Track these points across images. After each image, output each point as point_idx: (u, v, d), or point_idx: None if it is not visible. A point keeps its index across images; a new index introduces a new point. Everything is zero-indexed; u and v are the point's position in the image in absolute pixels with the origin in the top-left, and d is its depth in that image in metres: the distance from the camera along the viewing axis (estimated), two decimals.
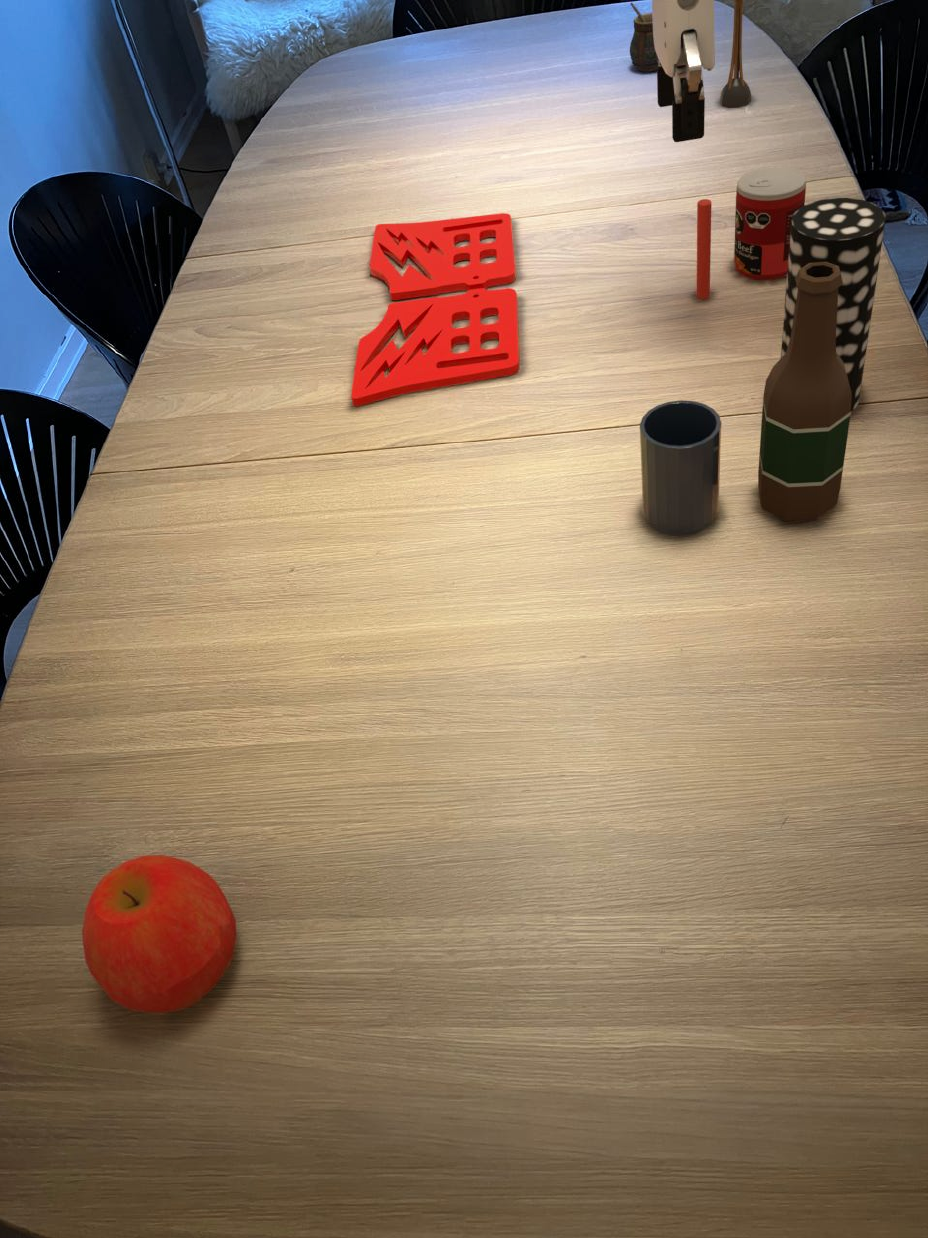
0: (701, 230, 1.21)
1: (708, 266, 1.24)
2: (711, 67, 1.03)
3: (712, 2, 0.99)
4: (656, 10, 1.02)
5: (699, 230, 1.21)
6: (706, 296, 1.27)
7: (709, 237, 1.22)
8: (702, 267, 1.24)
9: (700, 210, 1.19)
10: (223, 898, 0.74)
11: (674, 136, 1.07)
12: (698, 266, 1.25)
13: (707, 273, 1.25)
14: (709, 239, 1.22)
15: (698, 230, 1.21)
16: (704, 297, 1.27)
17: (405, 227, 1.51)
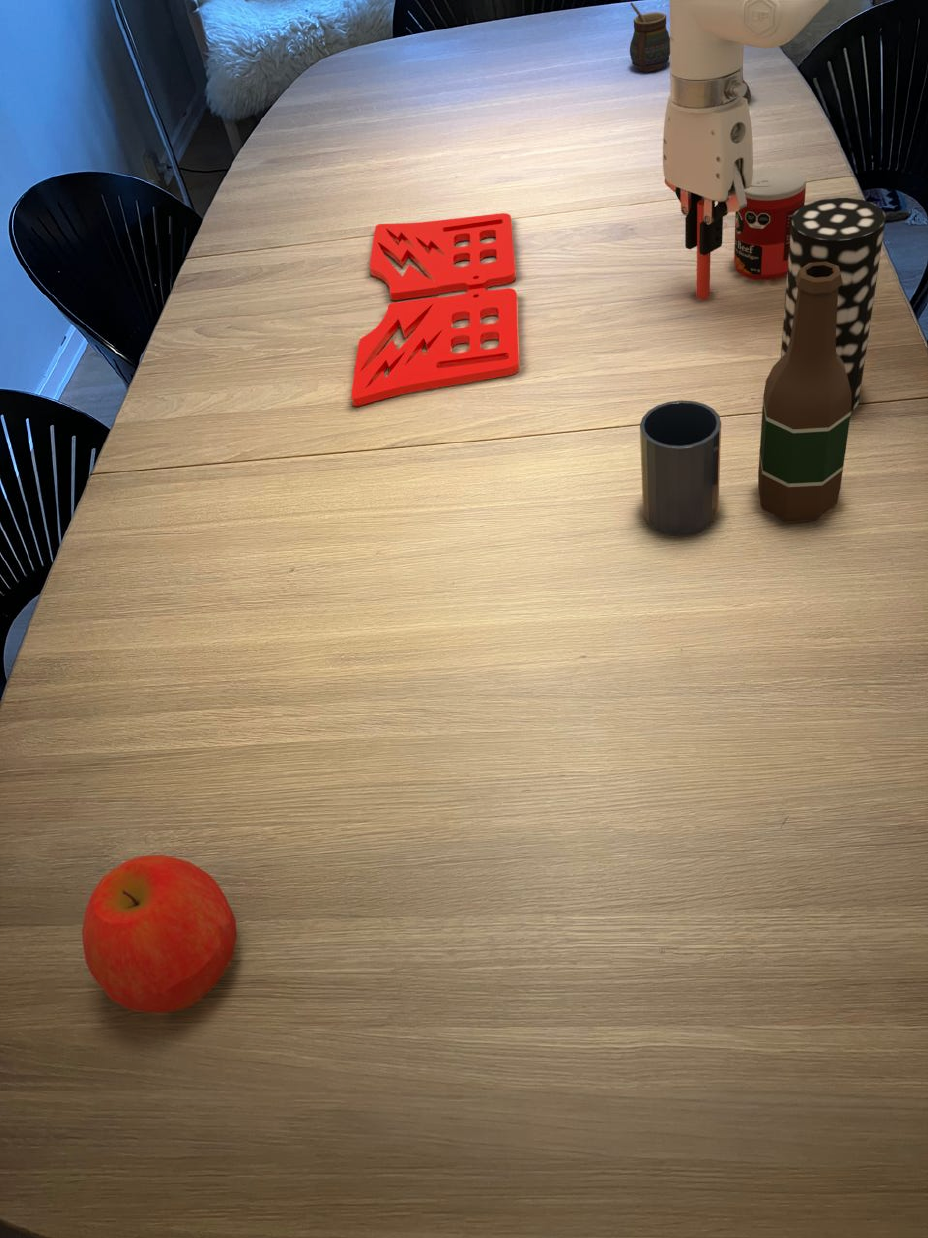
0: None
1: (708, 266, 1.24)
2: (750, 185, 1.15)
3: (751, 132, 1.11)
4: (695, 149, 1.13)
5: (699, 230, 1.21)
6: (706, 296, 1.27)
7: None
8: (702, 267, 1.24)
9: (700, 210, 1.19)
10: (223, 898, 0.74)
11: (703, 251, 1.21)
12: (698, 266, 1.25)
13: (707, 273, 1.25)
14: None
15: (698, 230, 1.21)
16: (704, 297, 1.27)
17: (405, 227, 1.51)
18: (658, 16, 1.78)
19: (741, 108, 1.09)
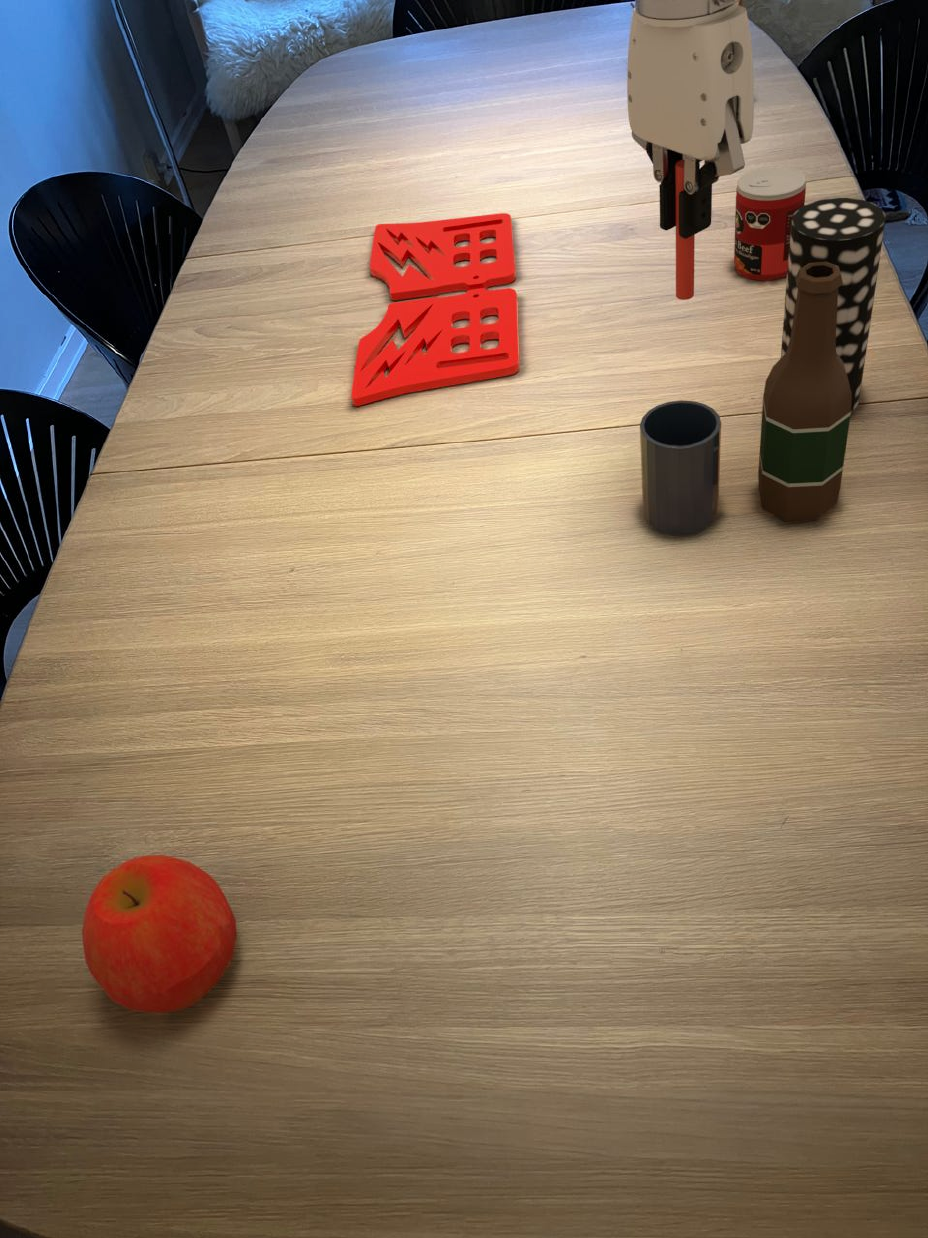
0: None
1: (691, 254, 0.90)
2: (750, 138, 0.81)
3: (752, 58, 0.77)
4: (671, 83, 0.78)
5: (678, 203, 0.87)
6: (689, 296, 0.93)
7: None
8: (683, 255, 0.90)
9: (679, 175, 0.85)
10: (223, 898, 0.74)
11: (684, 232, 0.87)
12: (677, 254, 0.90)
13: (690, 264, 0.90)
14: None
15: (677, 203, 0.87)
16: (686, 297, 0.93)
17: (405, 227, 1.51)
18: None
19: (737, 20, 0.74)
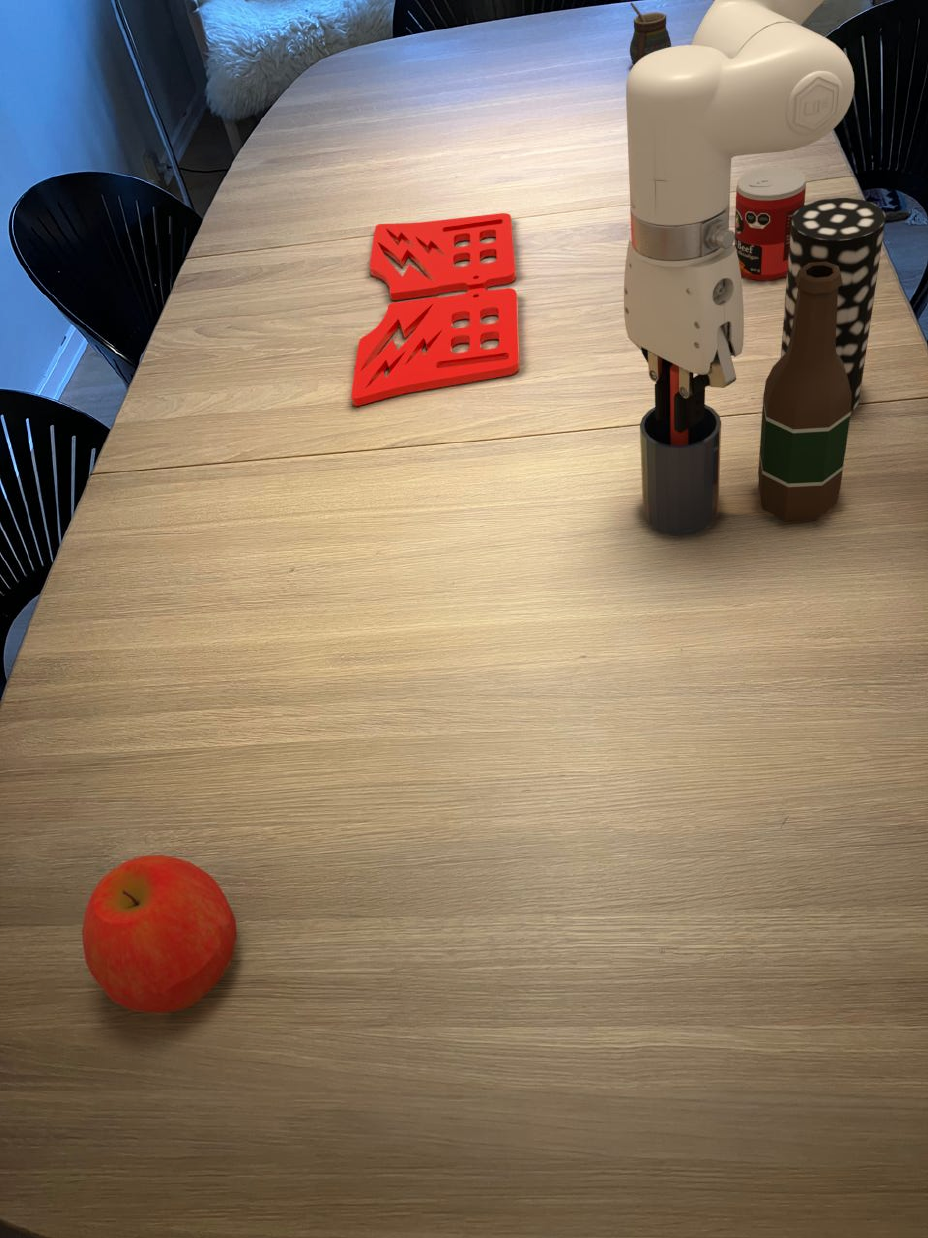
0: None
1: (685, 443, 0.95)
2: (741, 352, 0.86)
3: None
4: (666, 308, 0.83)
5: (673, 401, 0.92)
6: None
7: None
8: (678, 444, 0.95)
9: (674, 378, 0.90)
10: (223, 898, 0.74)
11: (679, 428, 0.92)
12: (672, 442, 0.95)
13: None
14: None
15: (672, 401, 0.92)
16: None
17: (405, 227, 1.51)
18: (658, 16, 1.78)
19: (728, 260, 0.79)
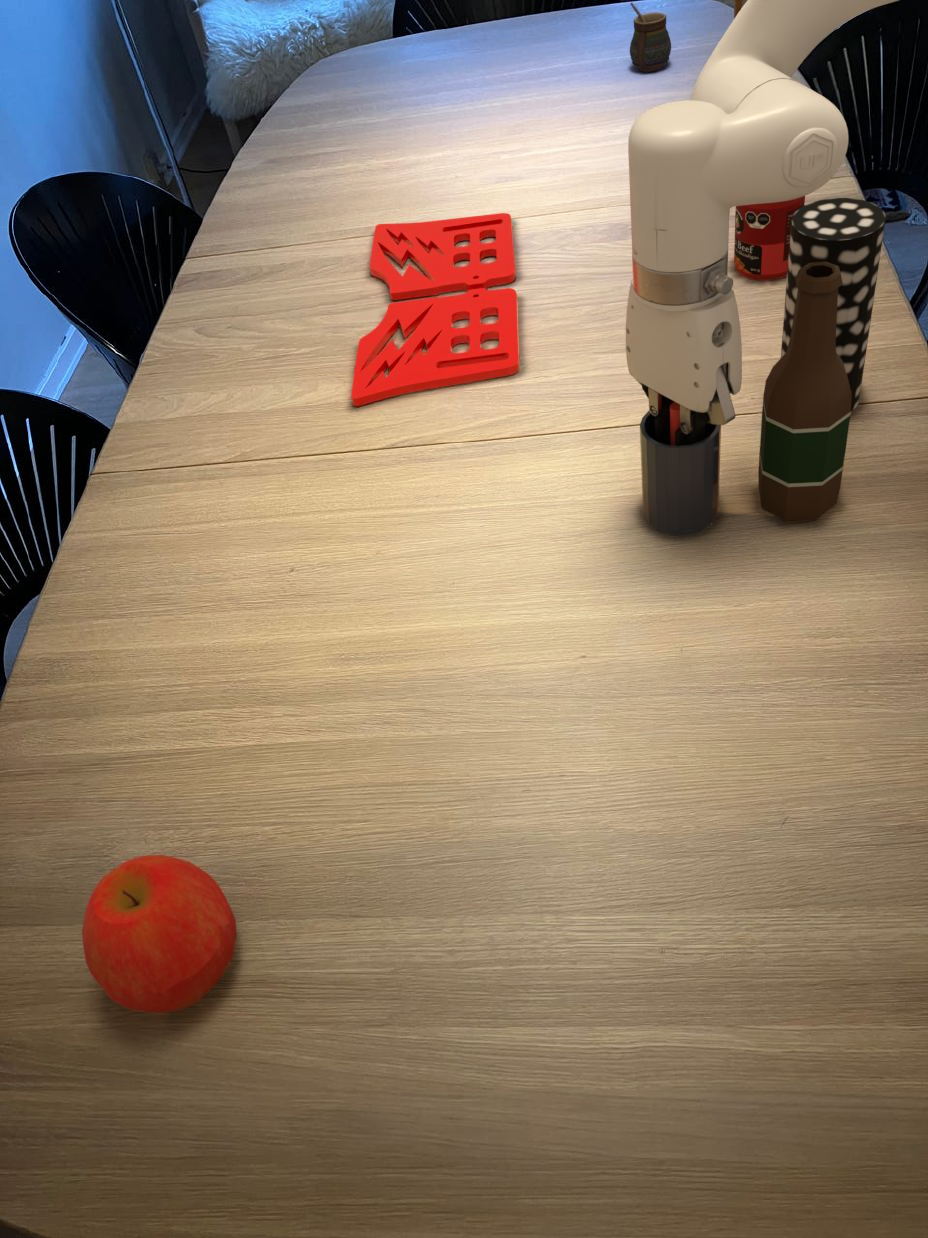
0: None
1: None
2: None
3: (740, 330, 0.84)
4: (667, 349, 0.86)
5: (673, 438, 0.95)
6: None
7: None
8: None
9: (673, 416, 0.93)
10: (223, 898, 0.74)
11: None
12: None
13: None
14: None
15: (672, 438, 0.95)
16: None
17: (405, 227, 1.51)
18: (658, 16, 1.78)
19: (726, 304, 0.82)
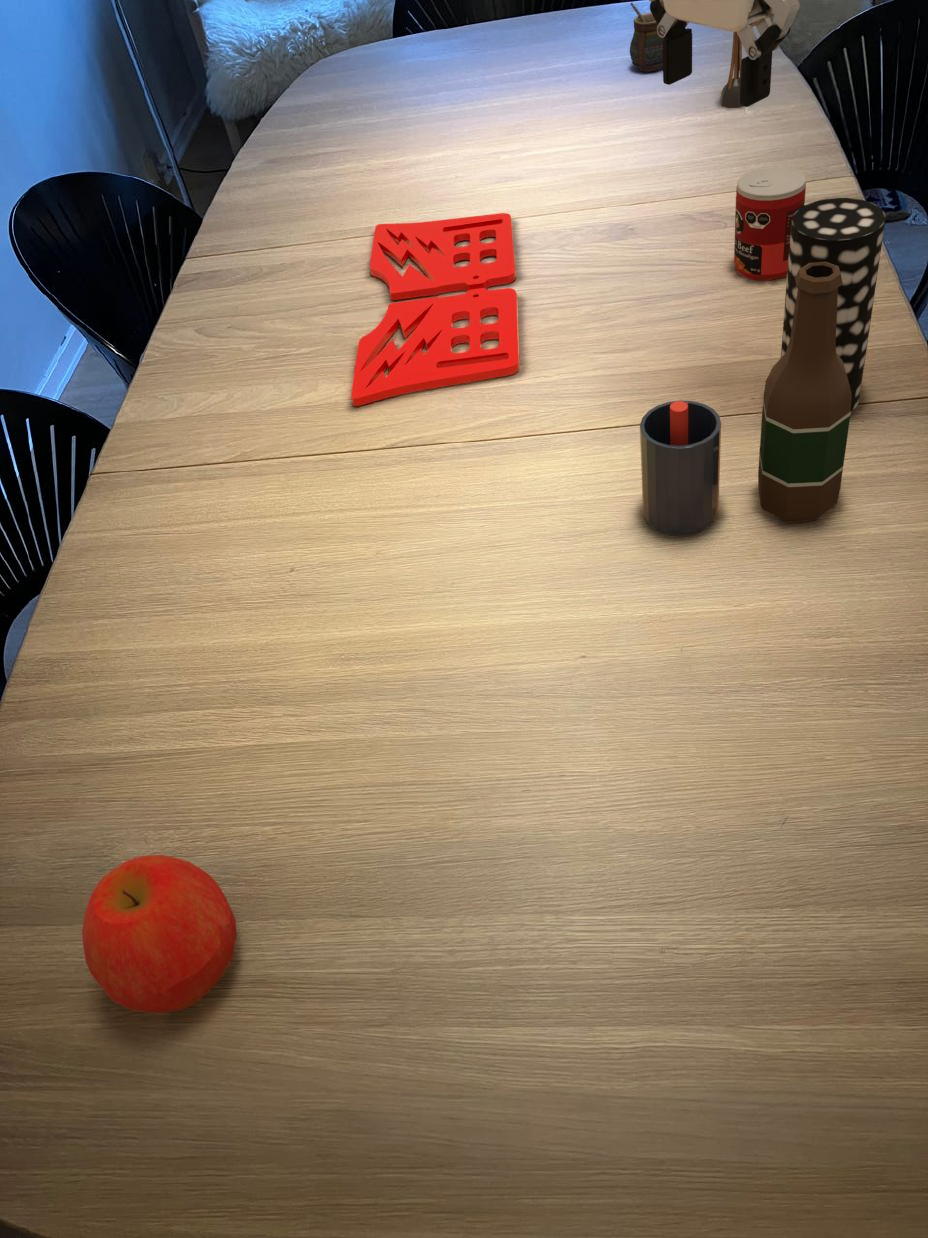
0: (675, 439, 0.94)
1: None
2: None
3: None
4: None
5: (673, 438, 0.95)
6: None
7: None
8: None
9: (673, 416, 0.93)
10: (223, 898, 0.74)
11: (746, 100, 0.91)
12: None
13: None
14: None
15: (672, 438, 0.95)
16: None
17: (405, 227, 1.51)
18: None
19: None
